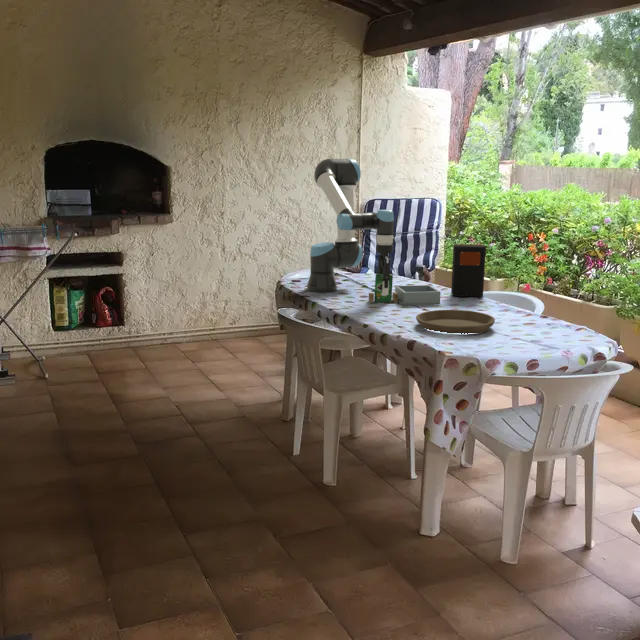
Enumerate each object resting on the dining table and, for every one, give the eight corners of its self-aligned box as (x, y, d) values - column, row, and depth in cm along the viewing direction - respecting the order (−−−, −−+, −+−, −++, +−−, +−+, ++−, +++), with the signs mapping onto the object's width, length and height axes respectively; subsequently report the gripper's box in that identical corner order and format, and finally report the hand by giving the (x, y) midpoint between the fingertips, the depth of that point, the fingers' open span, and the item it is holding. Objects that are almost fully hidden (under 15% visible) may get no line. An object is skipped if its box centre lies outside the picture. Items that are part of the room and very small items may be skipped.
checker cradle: (368, 301, 342) (368, 292, 341) (395, 300, 344) (395, 292, 343) (370, 302, 338) (370, 294, 337) (397, 302, 340) (397, 293, 339)
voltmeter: (482, 294, 359) (485, 243, 354) (484, 298, 351) (487, 246, 345) (450, 293, 361) (452, 243, 355) (451, 297, 353) (454, 245, 347)
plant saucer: (399, 325, 296) (400, 314, 295) (453, 316, 314) (454, 305, 313) (455, 341, 271) (456, 329, 270) (510, 330, 289) (511, 319, 288)
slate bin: (394, 298, 349) (395, 285, 348) (429, 297, 352) (429, 285, 350) (403, 305, 333) (404, 292, 332) (439, 304, 335) (440, 291, 334)
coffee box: (391, 301, 343) (392, 273, 340) (392, 302, 340) (392, 274, 337) (374, 301, 343) (374, 273, 340) (374, 302, 340) (375, 274, 337)
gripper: (398, 246, 326) (396, 297, 331) (387, 241, 345) (386, 288, 351) (381, 247, 325) (380, 297, 330) (371, 241, 344) (370, 289, 350)
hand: (383, 292), depth 340 cm, fingers open, 8 cm apart
